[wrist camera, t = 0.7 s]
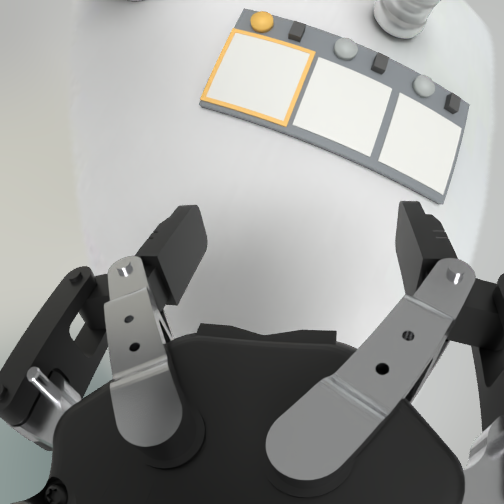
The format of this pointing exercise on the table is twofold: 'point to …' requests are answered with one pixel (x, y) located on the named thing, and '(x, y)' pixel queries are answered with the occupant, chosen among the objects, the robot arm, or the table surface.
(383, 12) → the plastic bottle
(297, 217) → the table surface
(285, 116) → the board
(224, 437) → the robot arm
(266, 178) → the table surface
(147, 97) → the table surface
